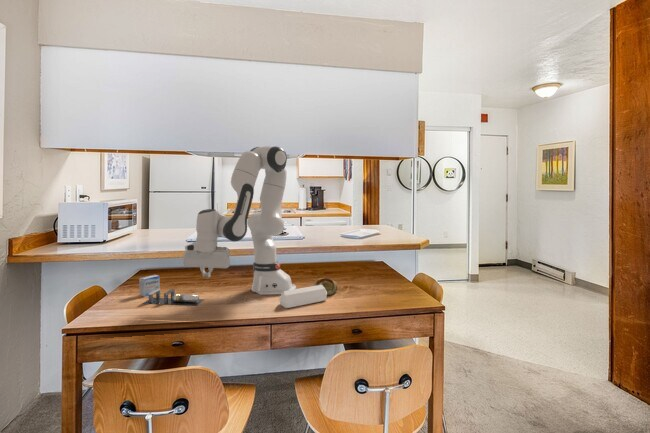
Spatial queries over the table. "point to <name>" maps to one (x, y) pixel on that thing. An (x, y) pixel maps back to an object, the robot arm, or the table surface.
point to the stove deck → (167, 299)
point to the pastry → (327, 285)
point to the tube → (185, 298)
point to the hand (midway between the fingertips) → (206, 277)
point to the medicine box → (149, 284)
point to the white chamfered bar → (303, 296)
